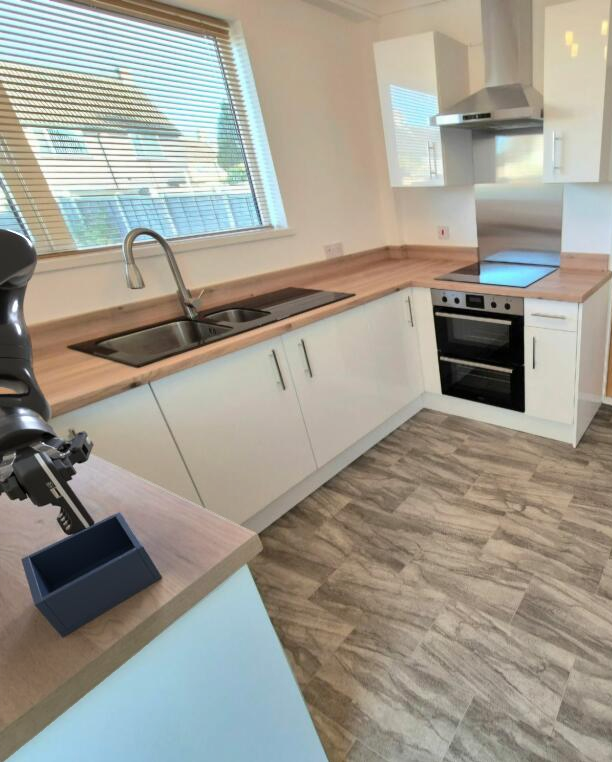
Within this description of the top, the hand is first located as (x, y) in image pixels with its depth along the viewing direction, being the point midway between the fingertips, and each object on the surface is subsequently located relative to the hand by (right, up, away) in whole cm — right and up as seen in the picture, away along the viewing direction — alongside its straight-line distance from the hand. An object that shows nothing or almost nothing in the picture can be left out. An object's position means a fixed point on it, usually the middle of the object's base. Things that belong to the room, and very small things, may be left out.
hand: (43, 484), depth 57 cm
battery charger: (-2, -7, +6) cm, 10 cm away
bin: (0, -17, +9) cm, 19 cm away
